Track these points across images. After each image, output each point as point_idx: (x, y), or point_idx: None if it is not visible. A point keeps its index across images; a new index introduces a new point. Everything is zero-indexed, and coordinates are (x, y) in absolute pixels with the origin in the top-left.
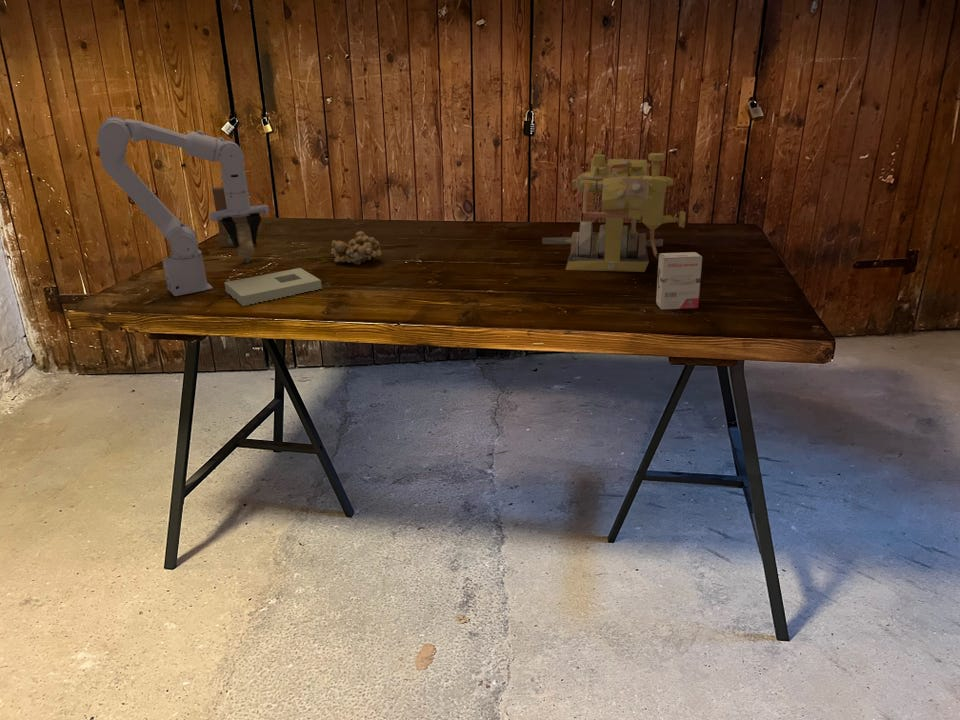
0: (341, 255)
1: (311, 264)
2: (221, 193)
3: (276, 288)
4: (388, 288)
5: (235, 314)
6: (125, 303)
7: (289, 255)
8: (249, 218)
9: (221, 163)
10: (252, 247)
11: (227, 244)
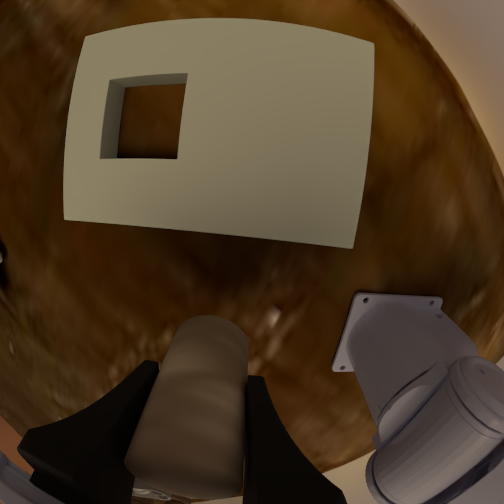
0: None
1: (44, 305)
2: None
3: (237, 24)
4: (30, 7)
5: (396, 25)
6: (490, 319)
7: (82, 397)
8: (108, 496)
9: None
10: (173, 348)
11: None
